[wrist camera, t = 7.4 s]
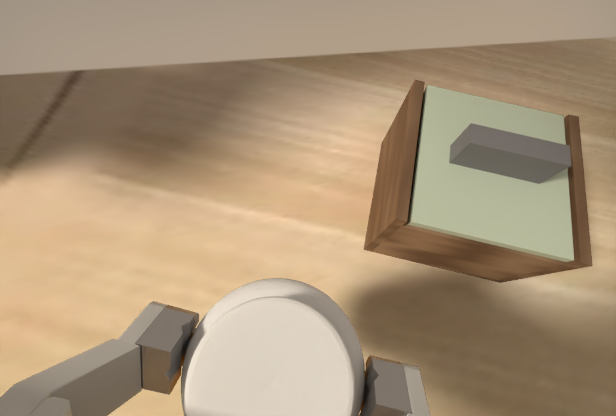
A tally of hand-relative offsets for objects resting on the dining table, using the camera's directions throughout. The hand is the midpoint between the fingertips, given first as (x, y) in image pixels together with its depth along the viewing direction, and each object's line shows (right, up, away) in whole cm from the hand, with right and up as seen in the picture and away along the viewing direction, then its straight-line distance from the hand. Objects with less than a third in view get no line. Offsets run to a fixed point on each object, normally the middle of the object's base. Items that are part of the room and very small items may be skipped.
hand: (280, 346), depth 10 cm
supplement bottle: (-1, -3, +7) cm, 8 cm away
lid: (+13, +7, +11) cm, 19 cm away
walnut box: (+13, +5, +19) cm, 23 cm away
